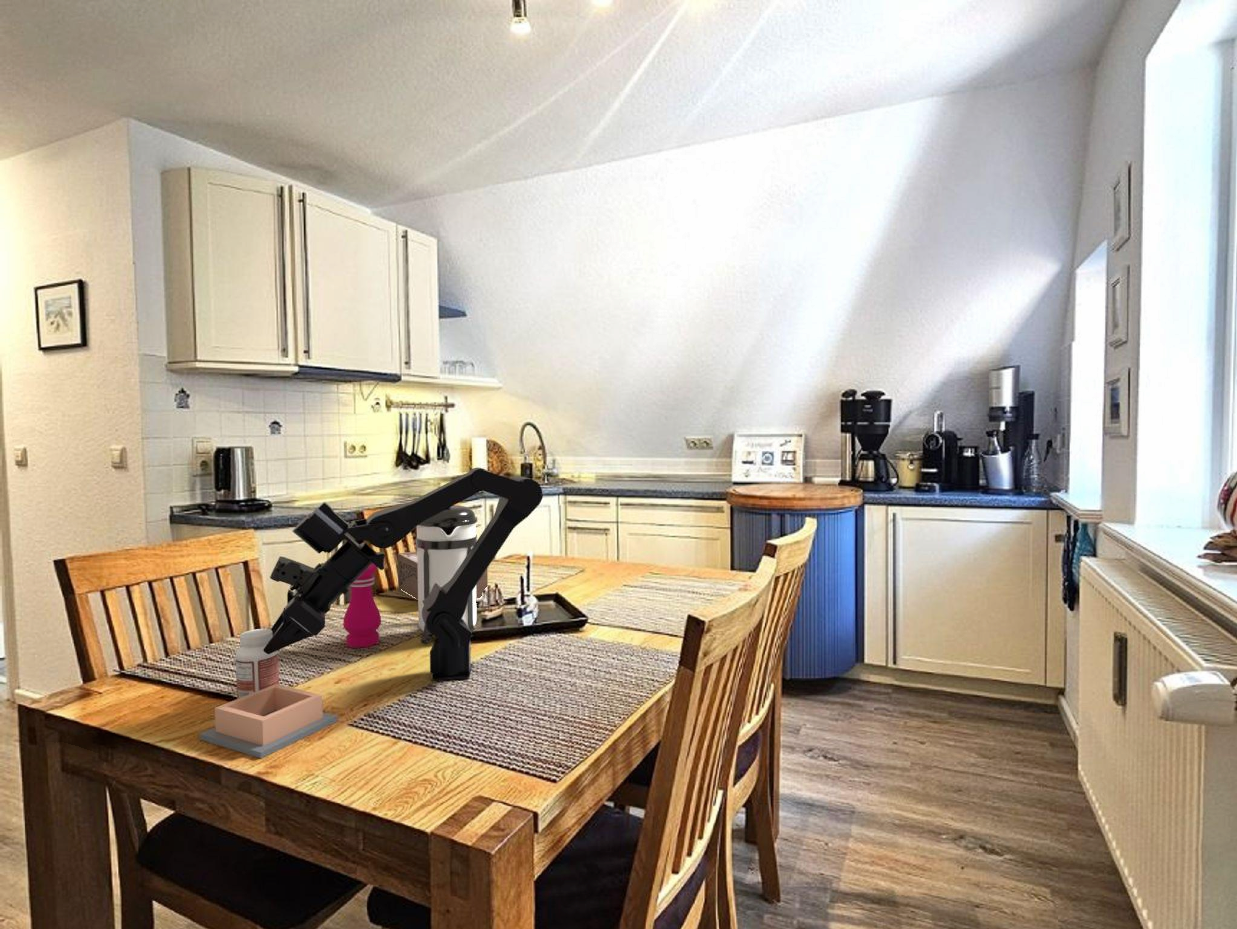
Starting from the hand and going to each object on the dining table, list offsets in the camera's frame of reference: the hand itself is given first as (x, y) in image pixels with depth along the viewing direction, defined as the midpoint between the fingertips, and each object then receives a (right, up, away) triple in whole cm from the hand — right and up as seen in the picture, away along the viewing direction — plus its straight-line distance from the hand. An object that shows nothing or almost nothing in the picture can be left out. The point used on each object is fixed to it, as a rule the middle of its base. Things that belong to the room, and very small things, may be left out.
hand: (267, 643), depth 113 cm
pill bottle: (-1, -9, 0) cm, 9 cm away
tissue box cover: (+11, -5, +69) cm, 70 cm away
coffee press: (+20, -7, +36) cm, 42 cm away
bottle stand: (+6, -10, -11) cm, 16 cm away
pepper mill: (+5, -8, +29) cm, 30 cm away
